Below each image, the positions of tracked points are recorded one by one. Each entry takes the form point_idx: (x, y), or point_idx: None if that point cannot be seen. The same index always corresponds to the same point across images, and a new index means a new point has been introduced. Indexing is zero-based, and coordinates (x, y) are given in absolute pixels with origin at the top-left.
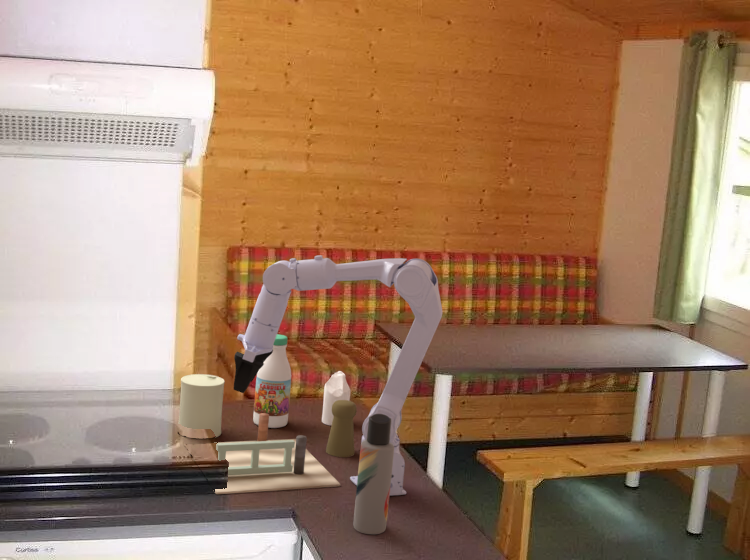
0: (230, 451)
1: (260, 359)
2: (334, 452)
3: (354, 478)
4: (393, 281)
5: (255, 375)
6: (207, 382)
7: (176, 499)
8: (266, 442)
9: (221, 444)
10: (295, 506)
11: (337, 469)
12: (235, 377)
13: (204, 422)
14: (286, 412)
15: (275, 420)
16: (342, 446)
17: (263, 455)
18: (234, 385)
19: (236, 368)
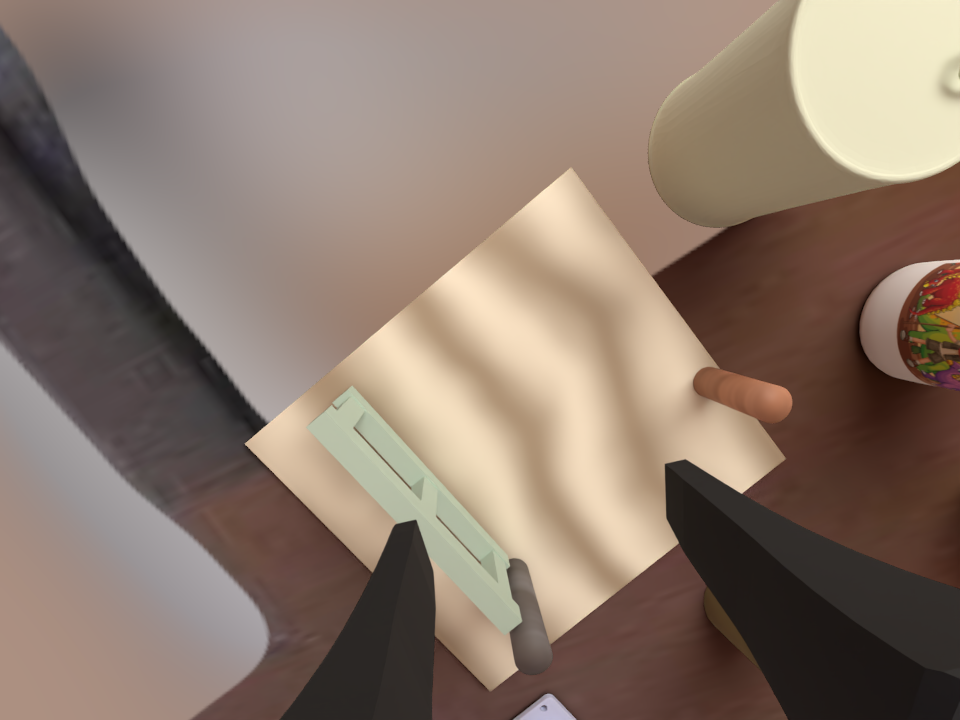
0: (579, 332)
1: (796, 702)
2: (712, 601)
3: (547, 707)
4: None
5: (696, 568)
6: (880, 94)
7: (147, 362)
8: (442, 558)
9: (324, 432)
10: (295, 645)
11: (606, 638)
12: (358, 602)
13: (692, 180)
14: (947, 388)
15: (889, 361)
16: (729, 635)
17: (596, 434)
18: (386, 547)
19: (306, 692)
